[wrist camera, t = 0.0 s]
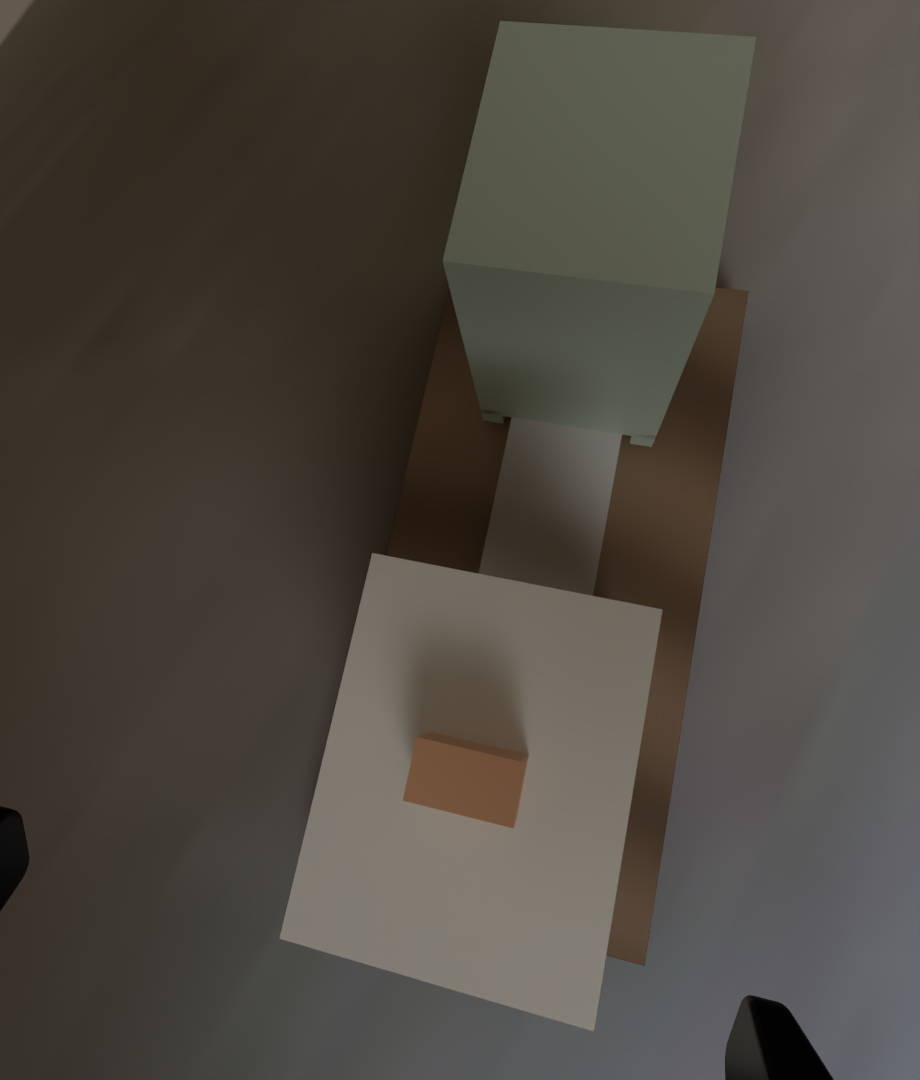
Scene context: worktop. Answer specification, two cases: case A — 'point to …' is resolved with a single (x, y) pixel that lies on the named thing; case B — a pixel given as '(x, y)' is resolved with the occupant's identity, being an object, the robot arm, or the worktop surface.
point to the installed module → (594, 219)
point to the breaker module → (478, 786)
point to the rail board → (586, 537)
